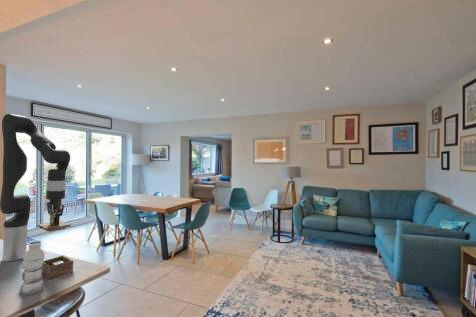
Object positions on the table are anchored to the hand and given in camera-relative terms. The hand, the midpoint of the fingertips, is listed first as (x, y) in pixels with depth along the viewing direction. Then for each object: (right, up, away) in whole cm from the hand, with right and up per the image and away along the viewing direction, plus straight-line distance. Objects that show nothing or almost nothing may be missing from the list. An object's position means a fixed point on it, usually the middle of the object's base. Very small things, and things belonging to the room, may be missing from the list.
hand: (54, 223), depth 118 cm
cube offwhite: (+7, -20, -7) cm, 22 cm away
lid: (0, -2, 0) cm, 2 cm away
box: (+8, -21, -9) cm, 24 cm away
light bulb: (+4, -21, -18) cm, 28 cm away
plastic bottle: (+10, -21, -24) cm, 34 cm away
